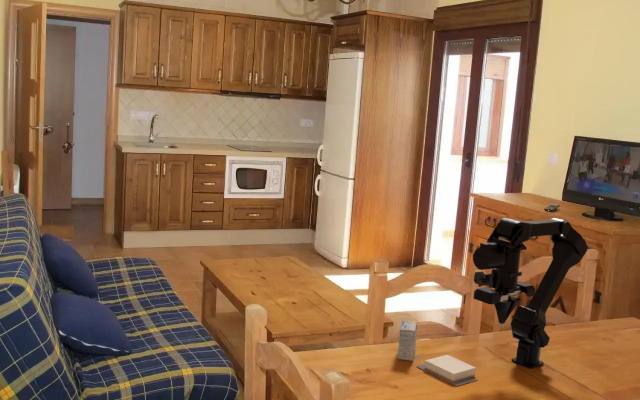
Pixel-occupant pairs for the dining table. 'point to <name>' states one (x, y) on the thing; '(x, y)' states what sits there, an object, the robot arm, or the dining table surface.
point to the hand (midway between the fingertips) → (501, 323)
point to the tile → (450, 368)
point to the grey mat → (456, 383)
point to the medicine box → (407, 340)
